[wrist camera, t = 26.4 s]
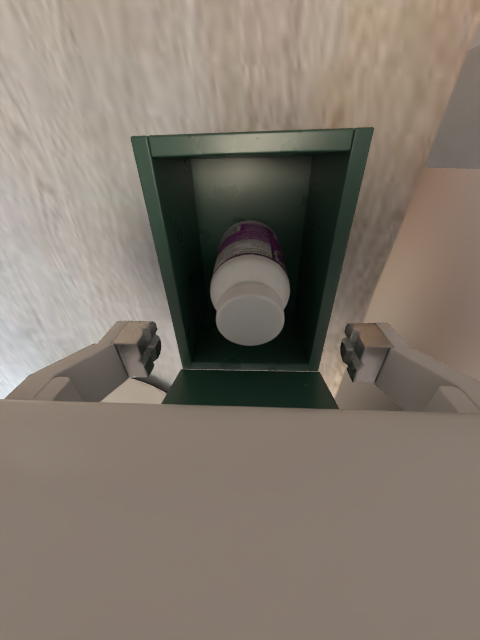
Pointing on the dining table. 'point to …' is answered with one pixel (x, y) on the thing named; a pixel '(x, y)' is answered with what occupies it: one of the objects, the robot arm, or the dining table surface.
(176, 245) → the chest
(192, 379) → the lid
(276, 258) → the pill bottle
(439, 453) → the robot arm
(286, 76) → the dining table surface
